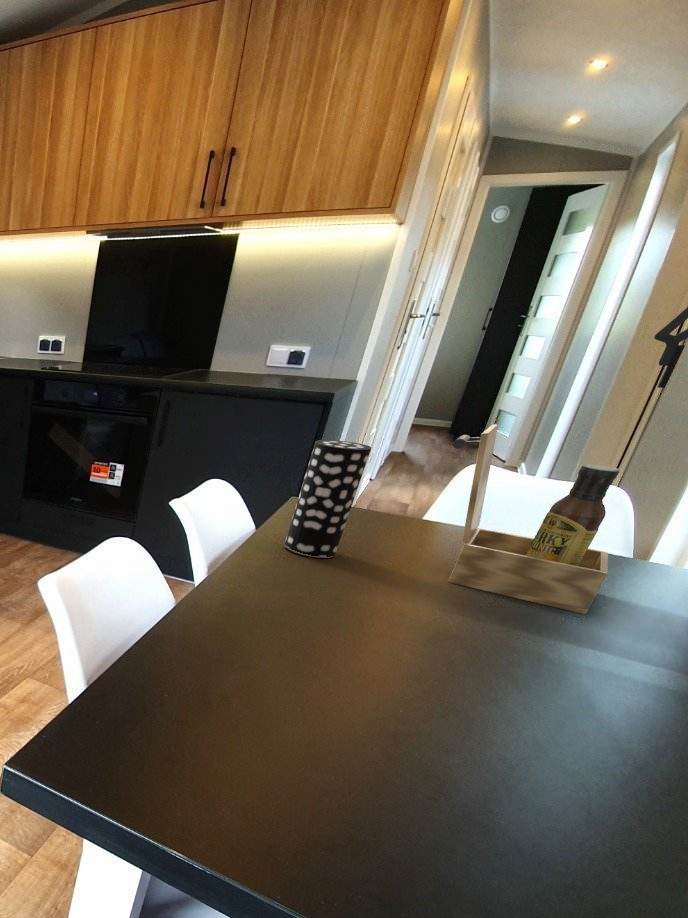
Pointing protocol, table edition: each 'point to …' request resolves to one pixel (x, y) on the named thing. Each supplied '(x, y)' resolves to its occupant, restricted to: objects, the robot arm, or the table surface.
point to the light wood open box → (528, 572)
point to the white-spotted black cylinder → (326, 497)
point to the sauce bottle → (574, 518)
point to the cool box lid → (478, 476)
